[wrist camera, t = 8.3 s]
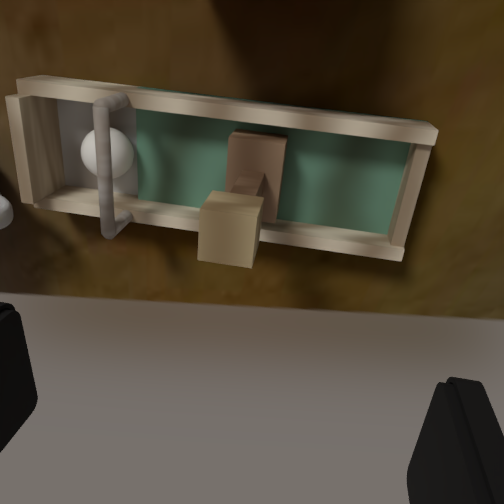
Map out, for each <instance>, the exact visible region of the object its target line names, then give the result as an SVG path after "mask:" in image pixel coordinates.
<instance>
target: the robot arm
mask: <svg viewBox="0 0 504 504" xmlns="http://www.w3.org/2000/svg"><path fill="white" fill-rule="evenodd" d="M37 399H38V397H37V391H36V387H35V382H34V377H33V372H32V367H31V363H30V359H29V354H28V349H27V344H26V340H25V335H24V330H23V326H22V321H21V316H20V314H19V313H18V312H17V311H15V308H14V306H13V305H12V304H9V303H4V302H0V452H1V451H2V450H3V449H4V447H5V446H6V445H7V444H8V442H9V441H10V440H11V439H12V437H13V436H14V435H15V434H16V432H17V431H18V430H19V429H20V427H21V426H22V425H23V424H24V422H25V421H26V420H27V419H28V417H29V416H30V415H31V413H32V412H33V411H34V409H35V407H36V404H37ZM407 488H408V495H409V501H410V504H504V436H503V433H502V431H501V428H500V426H499V423H498V421H497V418H496V416H495V413H494V411H493V408H492V406H491V403H490V401H489V398H488V396H487V394H486V391H485V389H484V387H483V385H482V383H481V382H479V381H473V380H468V379H462V378H456V377H449V378H448V379H447V382H446V383H441V382H439V383H438V384H437V386H436V389H435V391H434V394H433V397H432V400H431V403H430V406H429V409H428V412H427V415H426V417H425V420H424V423H423V426H422V429H421V432H420V435H419V438H418V440H417V444H416V446H415V449H414V452H413V455H412V458H411V461H410V464H409V466H408V471H407Z"/></svg>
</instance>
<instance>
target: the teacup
mask: <svg viewBox="0 0 504 504" xmlns="http://www.w3.org/2000/svg"><path fill="white" fill-rule="evenodd" d="M12 220H13V209H12V205H11V203H10V202H9V201H8V200H7V199H6V198H5V197H3V196H2V195H1V193H0V229H2V228H5V227H7V226H8V225H9V224H11V222H12Z"/></svg>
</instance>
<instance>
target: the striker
mask: <svg viewBox="0 0 504 504" xmlns="http://www.w3.org/2000/svg"><path fill="white" fill-rule="evenodd" d="M287 141H288V135H283V134H275V133H267V132H259V131H251V130H243V129H235V130H234V131H233V133H232V134H231V135H230V136H229V139H228V153H227V168H226V182H225V192H222V191H214V190H212V192H211V193H210V195H209V196H208V197H207V199H206V200H205V202H204V203H203V205H202V206H201V208H200V212H199V236H198V259H197V260H201V261H207V262H214V263H220V264H227V265H233V266H240V267H246V268H252V266H253V262H254V259H255V256H256V252H257V249H258V246H259V238H260V230H261V222H268V223H275V222H276V218H277V214H278V210H279V203H280V195H281V187H282V180H283V172H284V164H285V157H286V149H287Z"/></svg>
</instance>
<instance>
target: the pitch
mask: <svg viewBox="0 0 504 504" xmlns="http://www.w3.org/2000/svg"><path fill="white" fill-rule="evenodd" d="M16 82H17V89H18V94H14V95H9V96H5V99H6V105H7V112H8V118H9V124H10V131H11V137H12V144H13V150H14V157H15V163H16V170H17V176H18V183H19V189H20V196H21V202H22V203H28V204H34V208H40V209H47V210H54V211H61V212H67V213H74V214H81V215H88V216H95V217H100V222H101V234H102V235H103V236H104V237H105V238H106V239H113V238H114V237H115V236H116V235H117V234H118V233H119V232H120V231H121V230H122V229H123V228H124V227H125V226H126V225H127V224H128V223H129V222H135V223H142V224H149V225H156V226H163V227H170V228H176V229H183V230H190V231H197V232H199V212H200V208H201V206H202V205H203V203H204V202H205V200H206V199H207V197H208V196H209V195H210V193H211V192H212V190H214V191H222V192H225V182H226V168H227V153H228V139H229V136H230V135H231V134H232V133H233V131H234V130H235V129H243V130H251V131H259V132H267V133H275V134H283V135H288V141H287V149H286V157H285V164H284V172H283V180H282V187H281V195H280V203H279V210H278V214H277V218H276V222H275V223H268V222H261V230H260V238H259V241H265V242H272V243H278V244H285V245H292V246H299V247H306V248H312V249H319V250H326V251H333V252H340V253H346V254H353V255H360V256H367V257H374V258H380V259H387V260H394V261H402V258H403V254H404V251H405V250H404V244H405V241H406V237H407V234H408V230H409V226H410V223H411V219H412V216H413V212H414V209H415V205H416V202H417V198H418V194H419V191H420V187H421V184H422V180H423V177H424V173H425V170H426V166H427V162H428V159H429V155H430V152H431V148H432V145H433V146H434V145H435V141H436V138H437V134H438V130H437V129H436V128H435V127H434V126H432V125H431V124H430V123H429V122H428V121H421V120H413V119H405V118H396V117H388V116H380V115H371V114H363V113H355V112H346V111H338V110H330V109H321V108H313V107H305V106H297V105H288V104H280V103H272V102H263V101H255V100H247V99H238V98H230V97H222V96H214V95H205V94H197V93H189V92H180V91H172V90H164V89H155V88H147V87H139V86H130V85H122V84H114V83H106V82H97V81H89V80H81V79H72V78H64V77H56V76H47V75H40V76H33V77H27V78H21V79H16ZM110 128H114V129H117V130H119V131H121V132H122V133H123V134H125V135H126V136H127V138H128V139H129V140H130V142H131V144H132V147H133V151H134V158H133V163H132V165H131V167H130V168H129V170H128V171H127V172H126V173H125V174H123V175H122V176H120V177H117V178H113V176H112V157H111V138H110ZM93 130H94V135H95V150H96V164H97V176H96V175H94V174H93V173H91V172H90V171H89V170H88V169H87V168H86V166H85V165H84V163H83V160H82V157H81V145H82V142H83V140H84V138H85V137H86V135H87V134H88V133H90V132H91V131H93Z"/></svg>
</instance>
